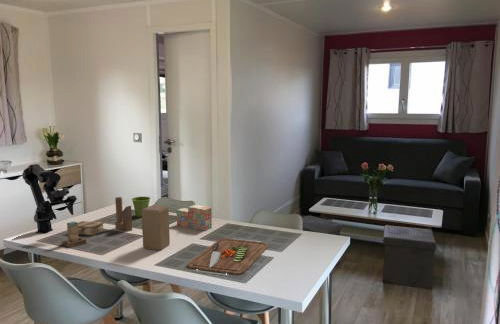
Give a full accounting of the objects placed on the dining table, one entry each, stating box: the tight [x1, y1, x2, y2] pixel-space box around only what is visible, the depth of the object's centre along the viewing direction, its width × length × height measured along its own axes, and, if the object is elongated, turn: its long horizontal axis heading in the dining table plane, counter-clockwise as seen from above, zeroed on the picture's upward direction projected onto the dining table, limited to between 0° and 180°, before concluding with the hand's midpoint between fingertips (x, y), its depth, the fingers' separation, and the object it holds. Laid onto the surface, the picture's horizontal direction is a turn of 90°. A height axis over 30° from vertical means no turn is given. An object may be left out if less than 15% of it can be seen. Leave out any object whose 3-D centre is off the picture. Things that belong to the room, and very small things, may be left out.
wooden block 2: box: [115, 196, 133, 232], centre depth 237 cm, size 4×11×18 cm, turn 54°
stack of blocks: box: [176, 204, 213, 232], centre depth 241 cm, size 21×6×12 cm, turn 58°
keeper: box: [61, 236, 87, 249], centre depth 213 cm, size 8×9×2 cm
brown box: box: [77, 220, 104, 236], centre depth 232 cm, size 14×10×4 cm
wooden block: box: [141, 204, 171, 251], centre depth 206 cm, size 10×10×20 cm
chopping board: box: [186, 237, 270, 277], centre depth 195 cm, size 45×27×3 cm, turn 161°
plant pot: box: [131, 196, 151, 218], centre depth 266 cm, size 12×12×11 cm
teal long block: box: [66, 221, 79, 243], centre depth 213 cm, size 4×4×11 cm
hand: (64, 216), depth 216 cm, fingers open, 9 cm apart
